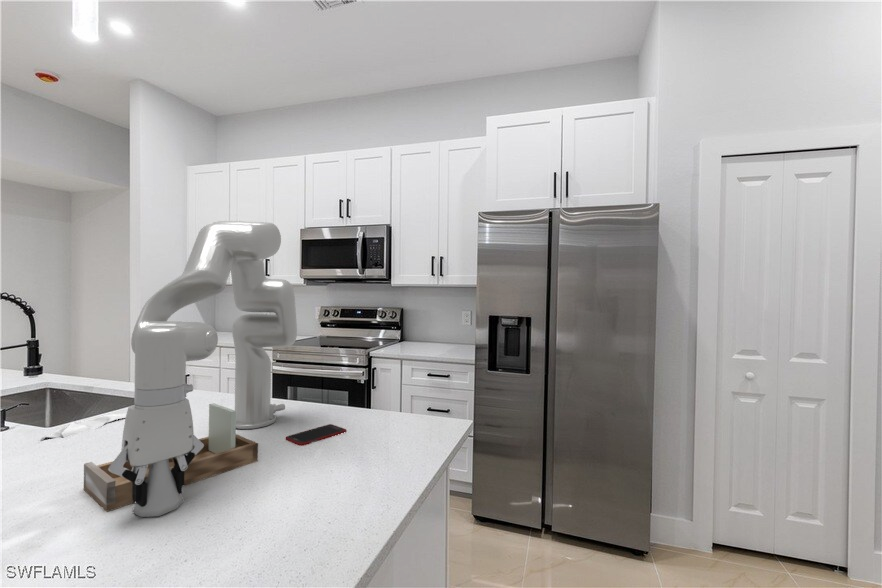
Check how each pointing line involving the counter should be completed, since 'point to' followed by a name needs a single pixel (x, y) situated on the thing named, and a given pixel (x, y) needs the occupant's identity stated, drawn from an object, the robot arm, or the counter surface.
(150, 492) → the flask
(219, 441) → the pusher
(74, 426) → the cloth
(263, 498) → the counter surface
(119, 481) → the wooden rimmed tray
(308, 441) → the cell phone
